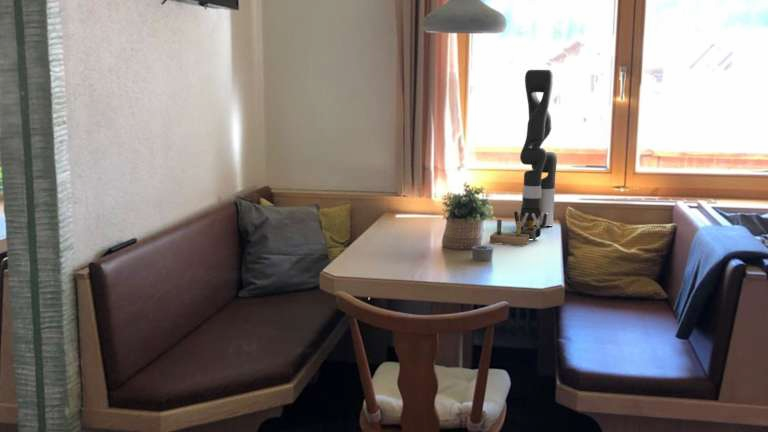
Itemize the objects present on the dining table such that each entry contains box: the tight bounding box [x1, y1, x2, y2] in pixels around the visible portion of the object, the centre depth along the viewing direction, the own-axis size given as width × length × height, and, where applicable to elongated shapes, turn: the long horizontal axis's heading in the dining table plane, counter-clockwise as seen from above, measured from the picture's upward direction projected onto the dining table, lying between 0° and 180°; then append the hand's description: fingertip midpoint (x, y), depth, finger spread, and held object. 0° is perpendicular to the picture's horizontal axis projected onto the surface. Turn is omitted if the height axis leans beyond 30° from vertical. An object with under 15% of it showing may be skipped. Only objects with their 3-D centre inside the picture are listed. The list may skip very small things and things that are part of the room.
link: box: [521, 227, 537, 241], centre depth 332 cm, size 8×6×4 cm
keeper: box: [489, 218, 530, 246], centre depth 324 cm, size 9×14×9 cm, turn 68°
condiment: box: [519, 204, 535, 228], centre depth 345 cm, size 7×8×12 cm
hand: (530, 236), depth 332 cm, fingers closed on link, 5 cm apart
